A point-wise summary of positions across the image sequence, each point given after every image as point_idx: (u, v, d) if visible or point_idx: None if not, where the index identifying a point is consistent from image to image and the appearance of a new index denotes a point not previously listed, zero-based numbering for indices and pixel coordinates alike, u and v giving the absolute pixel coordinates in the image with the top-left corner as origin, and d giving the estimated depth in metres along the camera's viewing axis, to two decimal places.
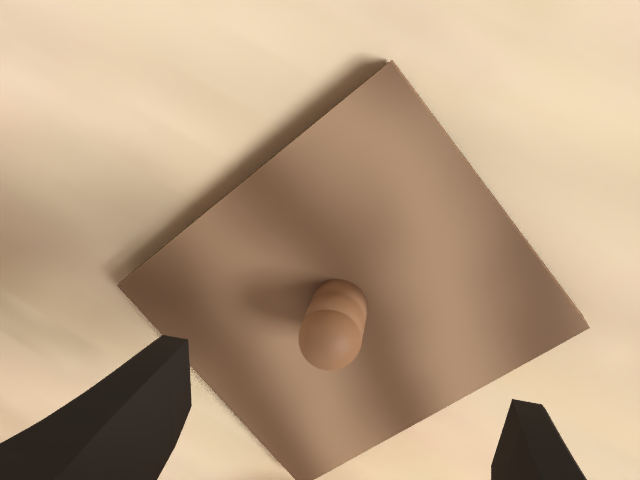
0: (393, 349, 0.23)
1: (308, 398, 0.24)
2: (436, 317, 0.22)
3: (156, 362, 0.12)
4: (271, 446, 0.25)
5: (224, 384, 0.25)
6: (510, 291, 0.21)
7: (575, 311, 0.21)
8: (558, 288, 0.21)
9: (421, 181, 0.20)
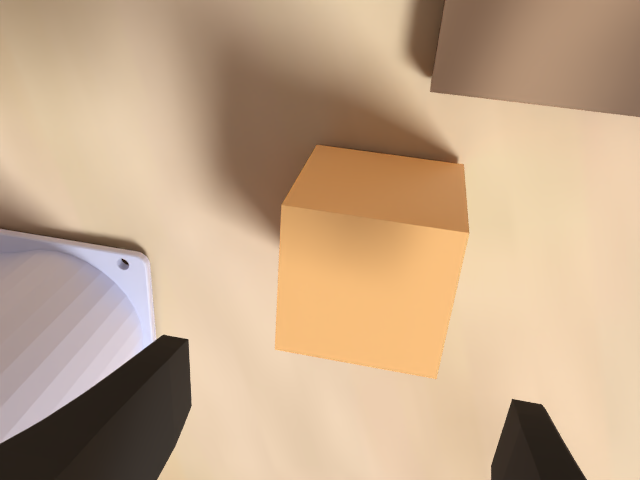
0: None
1: None
2: None
3: (156, 361, 0.12)
4: (453, 8, 0.16)
5: None
6: None
7: None
8: None
9: None
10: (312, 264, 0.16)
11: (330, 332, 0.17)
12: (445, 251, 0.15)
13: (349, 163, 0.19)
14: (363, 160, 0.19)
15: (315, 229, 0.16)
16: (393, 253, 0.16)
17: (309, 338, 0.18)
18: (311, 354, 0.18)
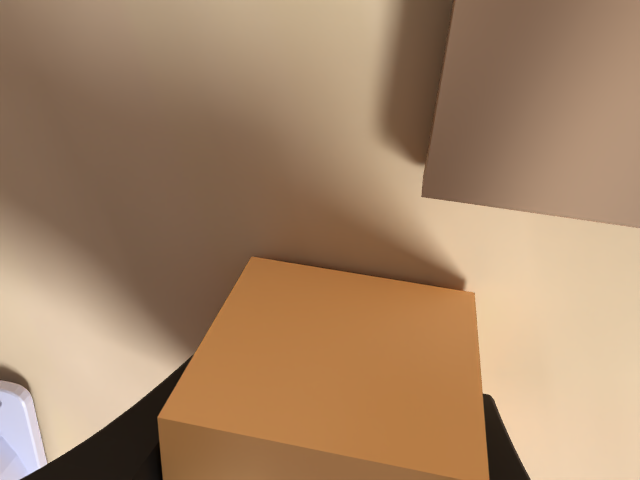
0: None
1: None
2: None
3: None
4: (460, 66, 0.09)
5: None
6: None
7: None
8: None
9: None
10: None
11: None
12: None
13: (295, 298, 0.12)
14: (319, 290, 0.12)
15: (219, 456, 0.09)
16: None
17: None
18: None
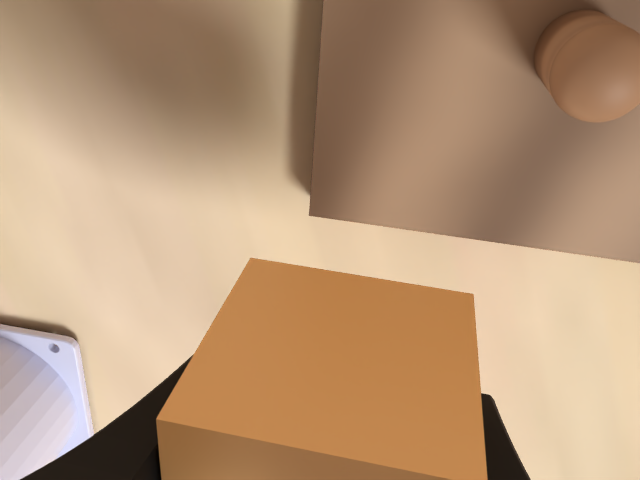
0: (570, 151, 0.17)
1: (421, 129, 0.17)
2: None
3: None
4: (321, 148, 0.18)
5: (342, 32, 0.16)
6: None
7: None
8: None
9: None
10: None
11: None
12: None
13: (294, 299, 0.12)
14: (318, 291, 0.12)
15: (217, 458, 0.09)
16: None
17: None
18: None
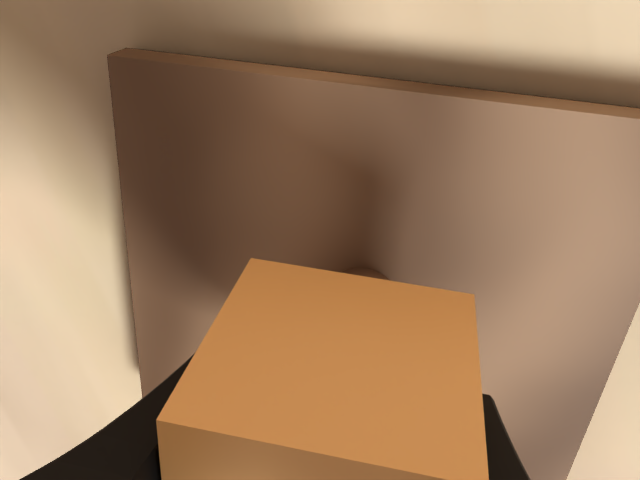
0: None
1: None
2: None
3: None
4: (145, 358, 0.19)
5: (148, 268, 0.17)
6: (534, 421, 0.17)
7: (566, 475, 0.18)
8: (576, 450, 0.17)
9: (582, 269, 0.15)
10: None
11: None
12: None
13: (295, 300, 0.12)
14: (318, 291, 0.12)
15: (218, 458, 0.09)
16: None
17: None
18: None
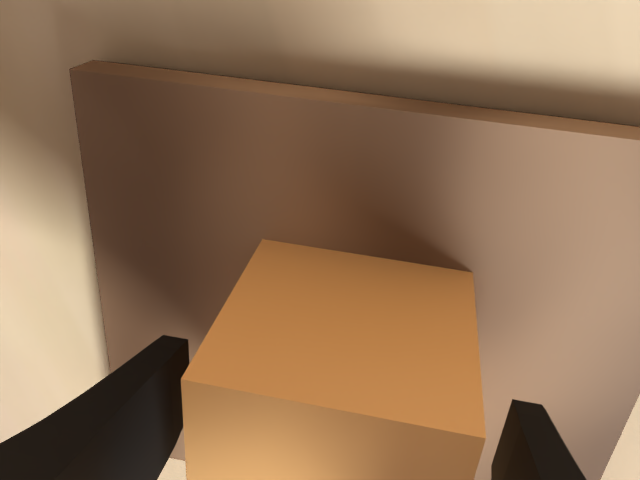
0: None
1: None
2: None
3: (156, 362, 0.12)
4: None
5: (121, 300, 0.16)
6: None
7: None
8: None
9: (599, 307, 0.13)
10: (237, 461, 0.10)
11: None
12: (446, 460, 0.09)
13: (305, 276, 0.13)
14: (326, 269, 0.13)
15: (237, 415, 0.10)
16: (362, 457, 0.10)
17: None
18: None
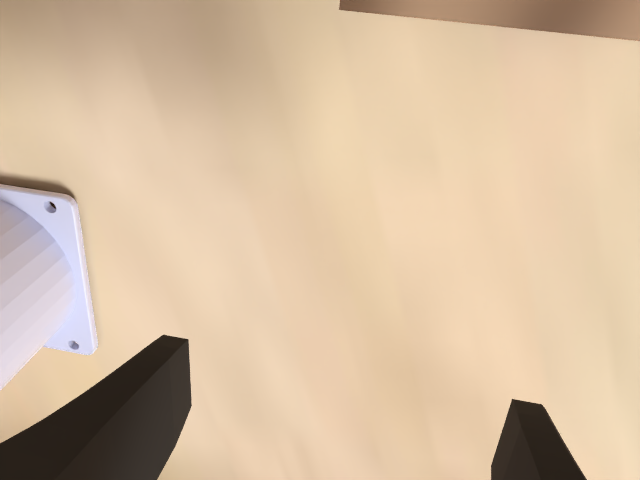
0: None
1: None
2: None
3: (156, 362, 0.12)
4: None
5: None
6: None
7: None
8: None
9: None
10: None
11: None
12: None
13: None
14: None
15: None
16: None
17: None
18: None
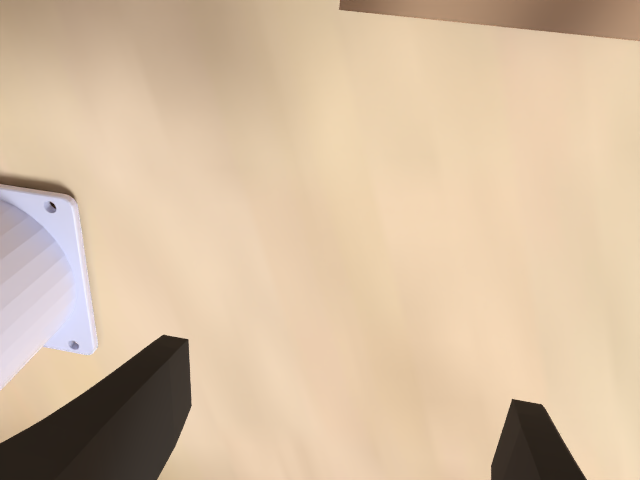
0: None
1: None
2: None
3: (156, 362, 0.12)
4: None
5: None
6: None
7: None
8: None
9: None
10: None
11: None
12: None
13: None
14: None
15: None
16: None
17: None
18: None
